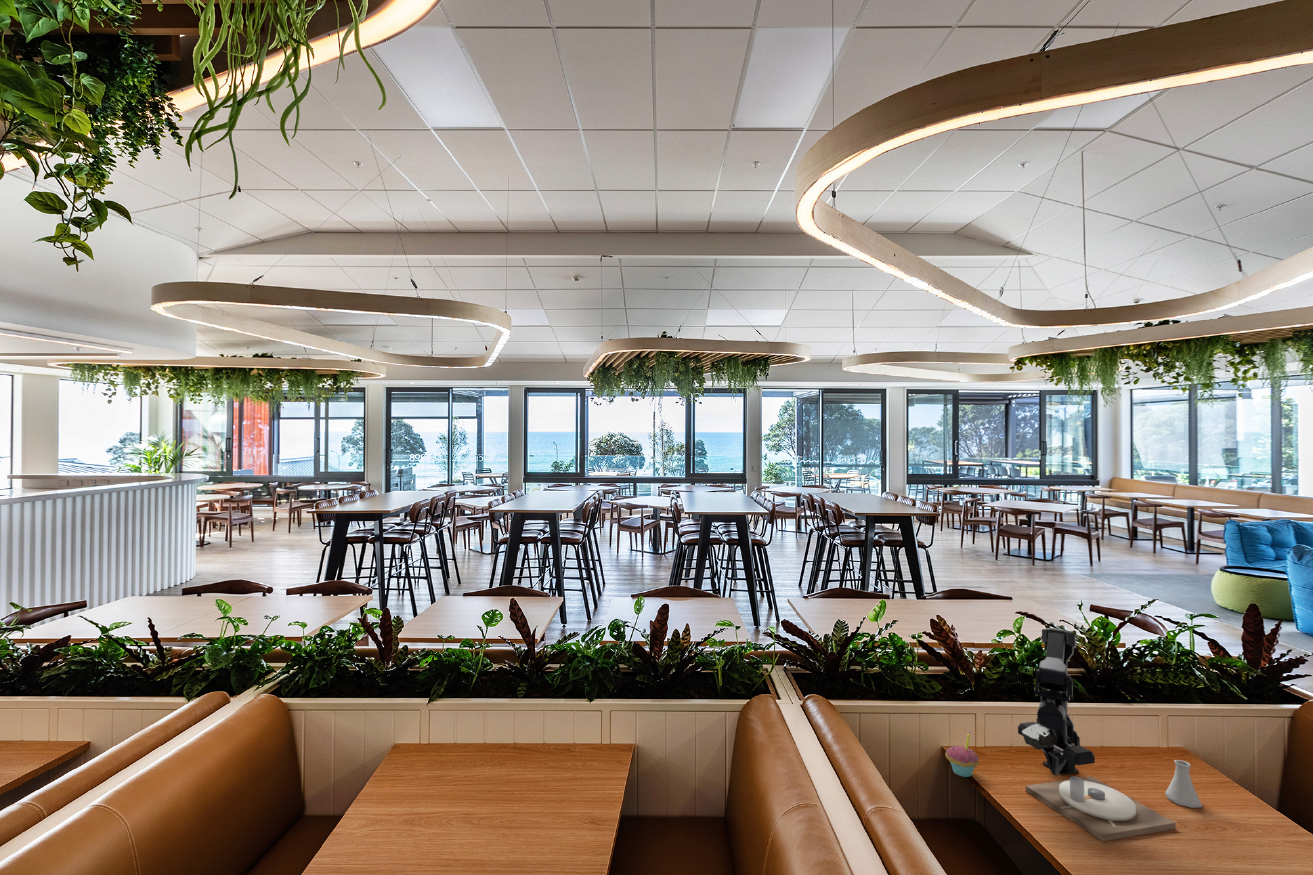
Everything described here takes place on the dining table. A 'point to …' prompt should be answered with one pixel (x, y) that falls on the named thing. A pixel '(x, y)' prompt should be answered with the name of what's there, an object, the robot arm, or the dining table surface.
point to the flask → (1183, 787)
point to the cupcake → (962, 759)
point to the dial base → (1099, 827)
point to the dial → (1097, 800)
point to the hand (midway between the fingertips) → (1055, 774)
